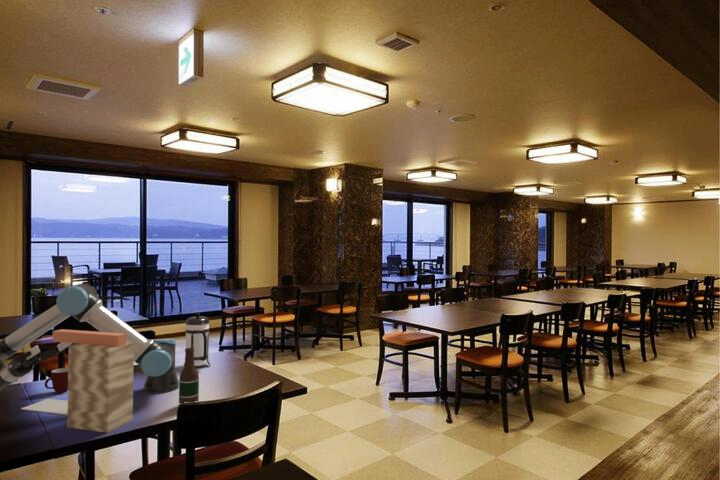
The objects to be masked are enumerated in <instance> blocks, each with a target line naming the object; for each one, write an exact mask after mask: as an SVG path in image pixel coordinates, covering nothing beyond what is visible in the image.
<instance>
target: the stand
mask: <svg viewBox="0 0 720 480" xmlns="http://www.w3.org/2000/svg"><path fill="white" fill-rule="evenodd" d="M134 363H135V362H134V342H127V341H126V344H125V345H122V346H118V347H116V346H104V345H91V344H78V343H73V344H71V345H70V346H68V367H67V368H68V390H67V401H68V415H66V417H67V418H66V419H67V423H66V425H67V426H66V427H67V428H71V429H78V430H84V431H85V430H86V431H91V432H92V431H93V432H99V433H100V432H102V433H111V432H112V431H114V430H116V429H117V428H120V427H122V426H123V425H125V424H128V423H130V422H131V421H133V419H134V416H133V415H134V413H133V412H134V368H135V367H134Z"/></svg>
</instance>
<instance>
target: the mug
mask: <svg viewBox="0 0 720 480" xmlns="http://www.w3.org/2000/svg"><path fill="white" fill-rule="evenodd" d="M50 374H51V375H50V377H48V378H47V379H45V380H44V381H45V382H44V387H45V388H46V389H48V390H54V391H55V393H56V394H65V393H68V367H61V368H56V369H52V370H51V373H50ZM49 381H51V385H52V386H48V383H49Z"/></svg>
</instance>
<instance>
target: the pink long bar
mask: <svg viewBox="0 0 720 480" xmlns="http://www.w3.org/2000/svg"><path fill="white" fill-rule="evenodd" d="M52 342H54V343H61V342H65V343H72V344H91V345H104V346H116V347H118V346H122V345H125V344H126V334H124V333H109V332H100V331H96V330H95V331H92V330H77V329H63V328H62V329H57V330H52Z"/></svg>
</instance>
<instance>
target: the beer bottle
mask: <svg viewBox="0 0 720 480" xmlns="http://www.w3.org/2000/svg"><path fill="white" fill-rule="evenodd" d="M184 352H185V354H184V363H185V365H184V364H183V368H182V369H181V371H180V374H179V378H178V380H179V387H178V389H179V390H178V405H179V404H180V403H184V402H195V401H198V402H199V398H200V394H199V390H200V389H199V388H200V384H199V382H200V377H199V372H198V370H197V368H196V366H194V348H187V349H186V348H185V349H184Z"/></svg>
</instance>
